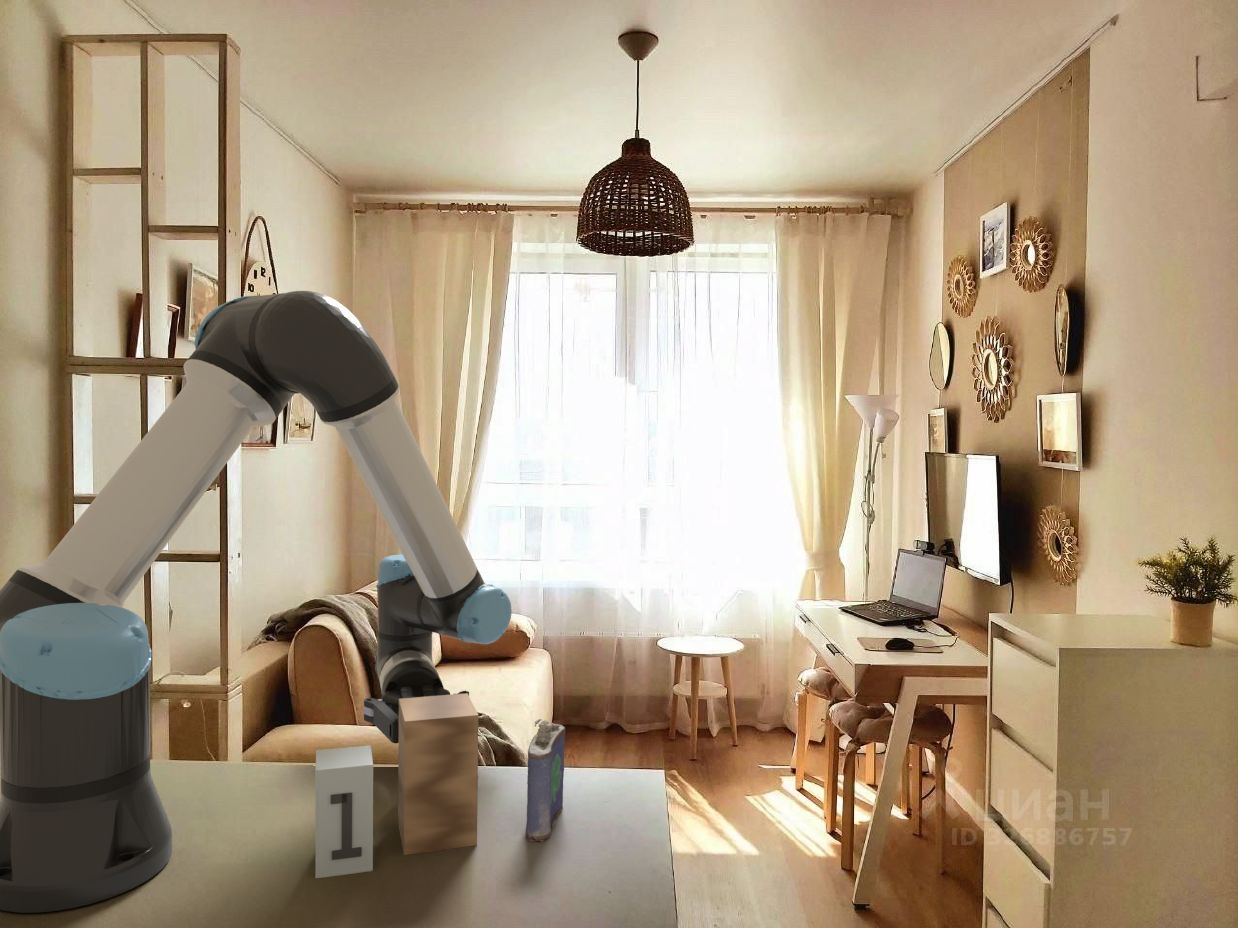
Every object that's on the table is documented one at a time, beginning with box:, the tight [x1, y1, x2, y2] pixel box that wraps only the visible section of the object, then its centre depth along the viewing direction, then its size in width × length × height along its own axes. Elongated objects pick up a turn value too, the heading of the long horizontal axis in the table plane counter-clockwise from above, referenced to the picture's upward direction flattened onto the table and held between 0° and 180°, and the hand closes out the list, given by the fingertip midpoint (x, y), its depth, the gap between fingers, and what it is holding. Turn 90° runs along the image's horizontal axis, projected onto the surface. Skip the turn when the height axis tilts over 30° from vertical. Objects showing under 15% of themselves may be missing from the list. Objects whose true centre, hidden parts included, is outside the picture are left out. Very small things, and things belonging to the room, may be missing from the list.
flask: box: [525, 718, 566, 843], centre depth 93 cm, size 9×3×11 cm, turn 172°
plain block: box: [397, 693, 479, 856], centre depth 90 cm, size 7×7×13 cm
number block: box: [315, 744, 374, 879], centre depth 84 cm, size 5×5×10 cm
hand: (433, 753), depth 95 cm, fingers closed
